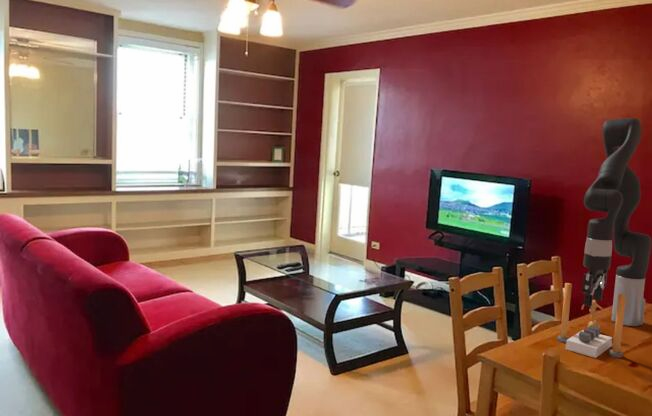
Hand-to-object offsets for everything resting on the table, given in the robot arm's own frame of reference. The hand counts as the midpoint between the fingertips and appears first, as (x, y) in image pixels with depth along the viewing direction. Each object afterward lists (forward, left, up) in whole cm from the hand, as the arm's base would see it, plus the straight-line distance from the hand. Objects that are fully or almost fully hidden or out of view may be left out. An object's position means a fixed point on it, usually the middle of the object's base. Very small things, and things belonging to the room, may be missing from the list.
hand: (592, 303), depth 172 cm
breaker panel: (0, 0, -15) cm, 15 cm away
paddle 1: (+3, +3, -11) cm, 12 cm away
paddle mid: (0, 0, -11) cm, 11 cm away
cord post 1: (+6, -6, -15) cm, 17 cm away
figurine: (-8, -14, -15) cm, 22 cm away
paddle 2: (-3, -3, -11) cm, 12 cm away
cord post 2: (-6, +6, -15) cm, 17 cm away
